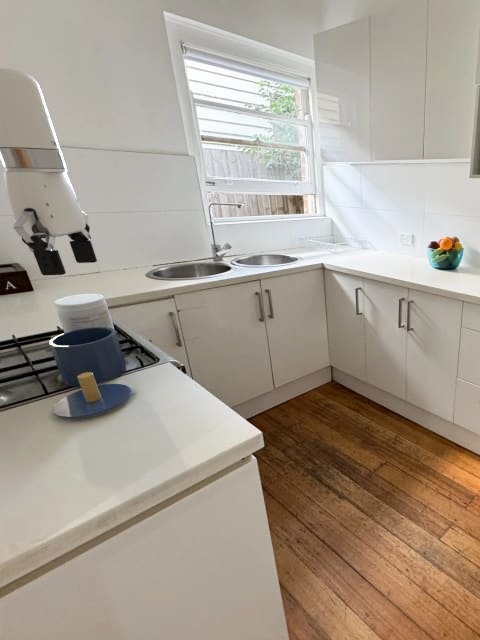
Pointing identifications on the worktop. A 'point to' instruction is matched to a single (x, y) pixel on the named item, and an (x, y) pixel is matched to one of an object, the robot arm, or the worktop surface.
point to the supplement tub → (83, 312)
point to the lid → (91, 399)
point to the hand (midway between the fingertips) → (71, 268)
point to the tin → (88, 354)
